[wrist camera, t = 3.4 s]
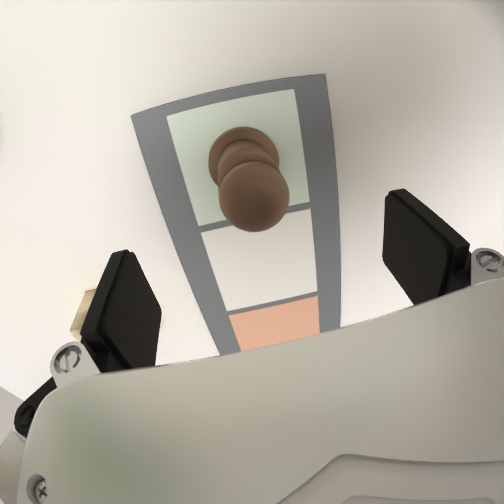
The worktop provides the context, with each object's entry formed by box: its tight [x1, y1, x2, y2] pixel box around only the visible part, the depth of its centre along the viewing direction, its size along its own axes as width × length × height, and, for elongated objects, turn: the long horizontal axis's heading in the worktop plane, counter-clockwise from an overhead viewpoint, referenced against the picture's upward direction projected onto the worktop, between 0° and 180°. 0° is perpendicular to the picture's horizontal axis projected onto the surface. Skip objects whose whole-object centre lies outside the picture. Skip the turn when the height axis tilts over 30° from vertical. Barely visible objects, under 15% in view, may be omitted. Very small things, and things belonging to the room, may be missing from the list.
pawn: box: [208, 127, 290, 232], centre depth 17 cm, size 5×5×8 cm
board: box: [131, 74, 341, 355], centre depth 25 cm, size 13×28×1 cm, turn 11°
